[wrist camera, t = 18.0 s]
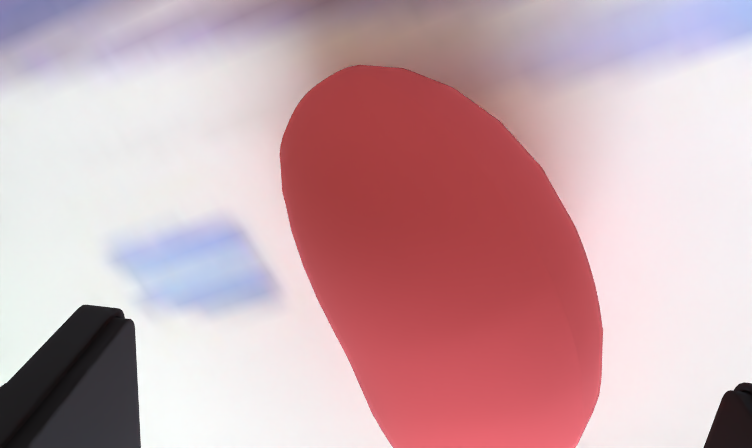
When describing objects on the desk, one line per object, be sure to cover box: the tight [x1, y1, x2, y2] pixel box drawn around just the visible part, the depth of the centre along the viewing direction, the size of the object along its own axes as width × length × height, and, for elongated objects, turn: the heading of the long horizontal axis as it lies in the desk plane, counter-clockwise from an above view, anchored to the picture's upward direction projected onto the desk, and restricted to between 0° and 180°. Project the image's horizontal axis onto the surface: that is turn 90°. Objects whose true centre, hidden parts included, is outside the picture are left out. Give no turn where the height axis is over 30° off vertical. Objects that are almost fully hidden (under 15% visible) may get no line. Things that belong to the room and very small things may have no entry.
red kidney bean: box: [280, 65, 603, 448], centre depth 13 cm, size 5×9×6 cm, turn 10°
